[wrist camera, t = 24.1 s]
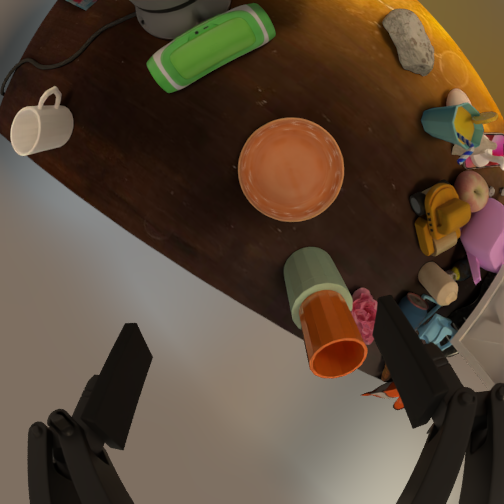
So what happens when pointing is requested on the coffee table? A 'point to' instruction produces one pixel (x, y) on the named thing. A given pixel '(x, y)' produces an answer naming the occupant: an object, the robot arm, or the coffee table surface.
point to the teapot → (485, 239)
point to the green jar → (311, 278)
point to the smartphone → (500, 139)
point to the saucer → (291, 169)
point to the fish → (387, 394)
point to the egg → (456, 97)
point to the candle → (438, 283)
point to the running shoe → (465, 315)
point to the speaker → (210, 46)
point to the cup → (457, 125)
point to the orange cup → (331, 335)
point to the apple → (472, 190)
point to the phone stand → (436, 327)
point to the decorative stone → (410, 41)
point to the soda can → (414, 309)
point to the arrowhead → (479, 150)
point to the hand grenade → (460, 270)
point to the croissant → (385, 374)
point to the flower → (364, 313)
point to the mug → (41, 126)
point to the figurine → (487, 158)
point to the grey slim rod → (492, 190)
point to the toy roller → (439, 217)
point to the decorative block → (485, 335)
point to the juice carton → (82, 3)
